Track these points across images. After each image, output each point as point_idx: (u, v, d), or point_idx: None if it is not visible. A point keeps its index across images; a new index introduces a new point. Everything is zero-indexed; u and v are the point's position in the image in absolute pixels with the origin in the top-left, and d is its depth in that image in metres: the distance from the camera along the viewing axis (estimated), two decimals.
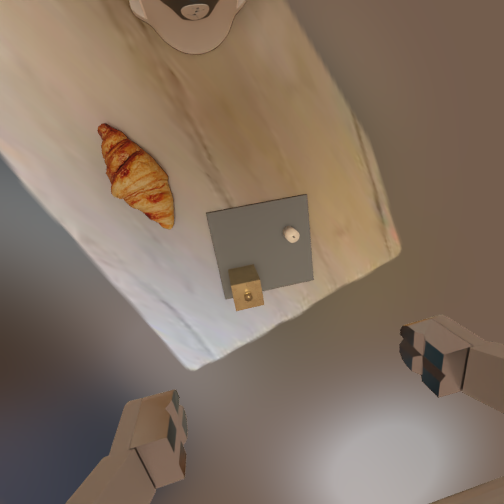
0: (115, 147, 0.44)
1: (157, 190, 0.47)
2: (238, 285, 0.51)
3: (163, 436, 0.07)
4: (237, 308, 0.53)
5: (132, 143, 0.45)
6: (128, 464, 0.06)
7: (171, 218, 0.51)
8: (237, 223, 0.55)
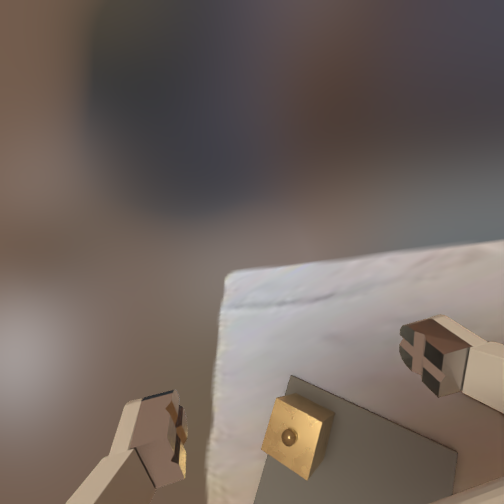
0: None
1: None
2: (316, 435, 0.29)
3: (163, 436, 0.07)
4: (279, 402, 0.32)
5: None
6: (128, 464, 0.06)
7: None
8: (415, 494, 0.30)
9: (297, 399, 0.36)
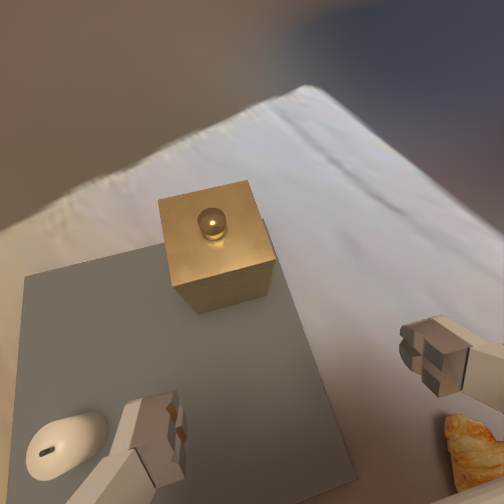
0: None
1: None
2: (249, 261, 0.15)
3: (163, 436, 0.07)
4: (244, 187, 0.17)
5: None
6: (128, 464, 0.06)
7: (471, 462, 0.16)
8: (255, 453, 0.17)
9: None
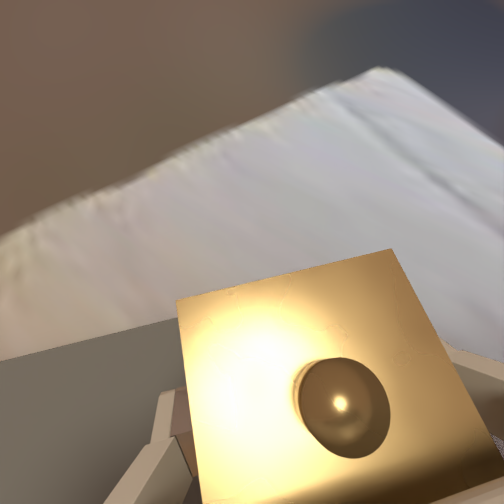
0: None
1: None
2: None
3: None
4: (388, 268, 0.07)
5: None
6: (170, 451, 0.06)
7: None
8: None
9: None
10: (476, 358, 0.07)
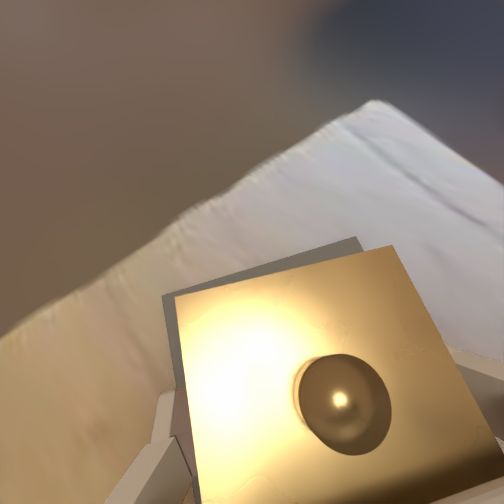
0: None
1: None
2: None
3: None
4: (388, 265, 0.07)
5: None
6: (170, 451, 0.06)
7: None
8: None
9: None
10: (476, 358, 0.07)
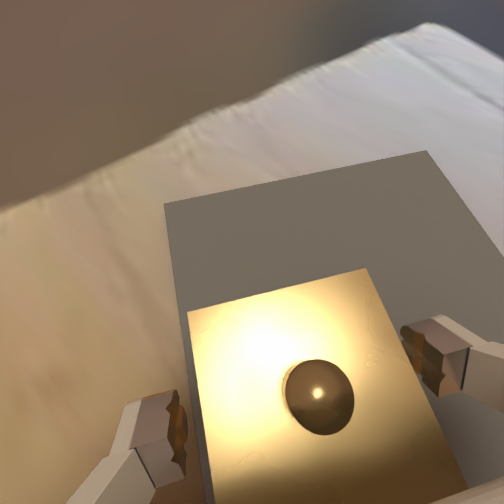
0: None
1: None
2: (410, 500, 0.06)
3: (163, 436, 0.07)
4: (362, 285, 0.08)
5: None
6: (128, 464, 0.06)
7: None
8: None
9: None
10: None
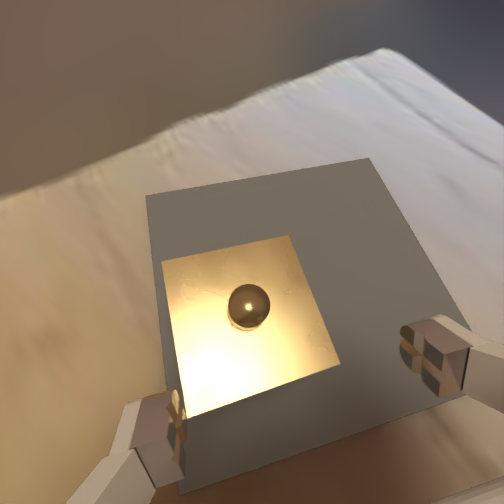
0: None
1: None
2: (303, 368, 0.10)
3: (163, 436, 0.07)
4: (285, 245, 0.12)
5: None
6: (128, 464, 0.06)
7: None
8: (401, 357, 0.18)
9: None
10: None
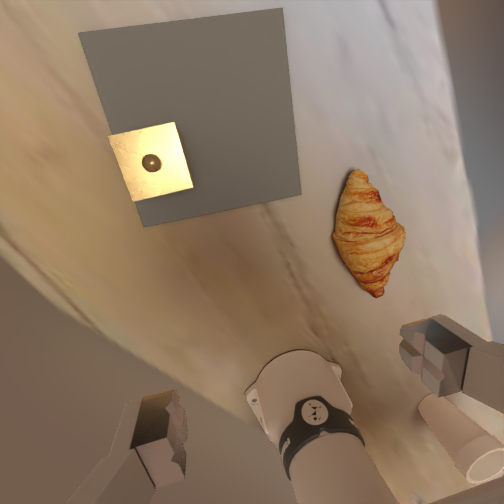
0: (378, 279, 0.40)
1: (358, 230, 0.36)
2: (177, 188, 0.25)
3: (163, 436, 0.07)
4: (172, 129, 0.24)
5: (359, 279, 0.40)
6: (128, 464, 0.06)
7: (352, 186, 0.35)
8: (256, 179, 0.34)
9: (182, 141, 0.28)
10: None
